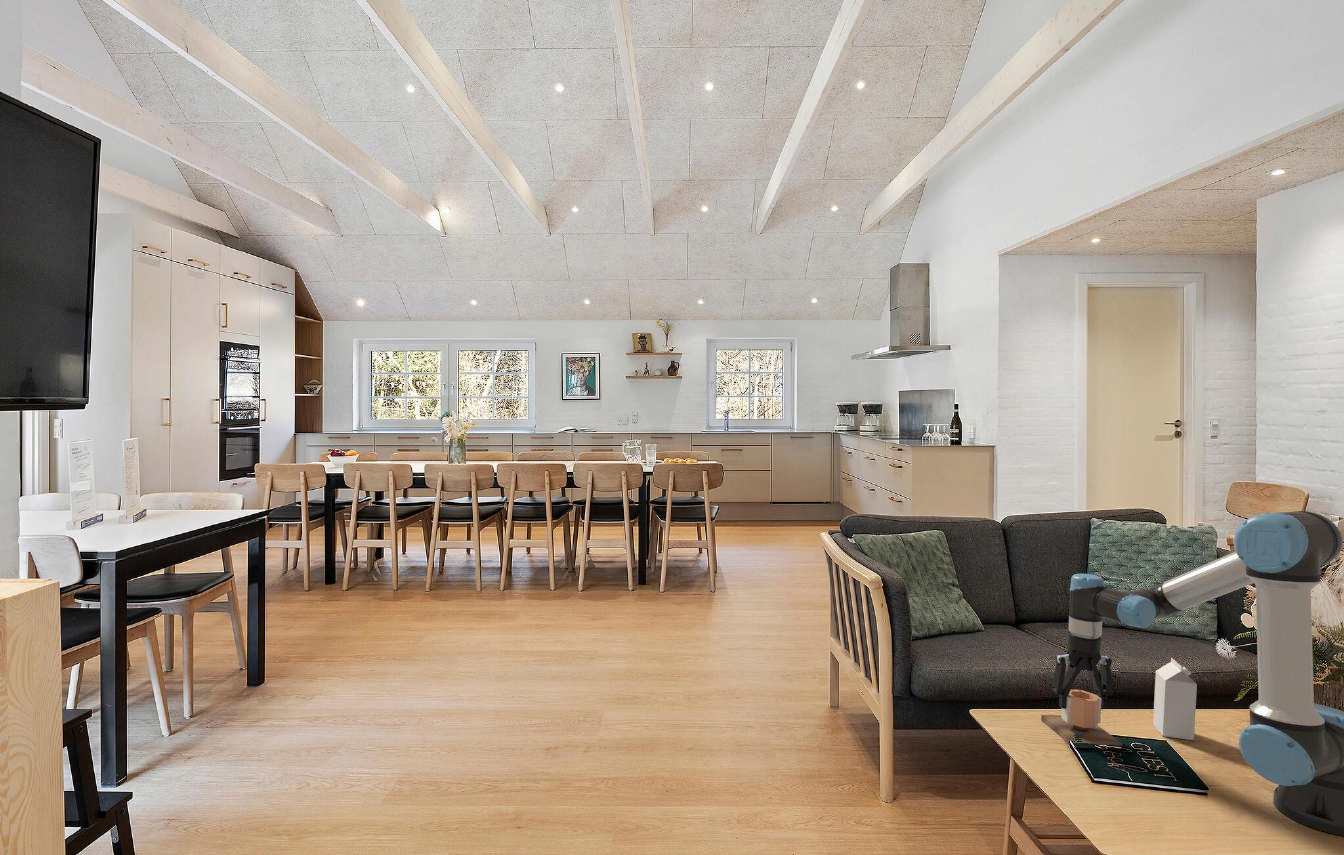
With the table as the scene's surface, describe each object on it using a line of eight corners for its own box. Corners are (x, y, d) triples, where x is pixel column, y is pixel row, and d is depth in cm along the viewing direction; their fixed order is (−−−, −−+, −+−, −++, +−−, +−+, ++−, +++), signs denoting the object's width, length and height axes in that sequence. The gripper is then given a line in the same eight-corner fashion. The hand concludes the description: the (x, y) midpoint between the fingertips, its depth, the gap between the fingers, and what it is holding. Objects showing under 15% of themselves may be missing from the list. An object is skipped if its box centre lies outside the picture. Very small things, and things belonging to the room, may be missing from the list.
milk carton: (1162, 736, 186) (1166, 665, 186) (1152, 725, 193) (1156, 656, 192) (1194, 741, 184) (1197, 668, 183) (1183, 729, 191) (1186, 659, 190)
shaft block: (1122, 749, 178) (1124, 714, 178) (1074, 748, 178) (1076, 713, 178) (1084, 721, 194) (1086, 688, 194) (1041, 720, 194) (1042, 687, 194)
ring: (1102, 728, 183) (1104, 701, 182) (1074, 727, 183) (1076, 700, 182) (1086, 715, 190) (1087, 689, 190) (1059, 715, 190) (1060, 689, 189)
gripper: (1113, 630, 189) (1109, 715, 190) (1038, 628, 189) (1035, 713, 190) (1132, 639, 182) (1128, 728, 182) (1054, 637, 182) (1050, 726, 182)
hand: (1080, 720), depth 186 cm, fingers closed on ring, 7 cm apart
